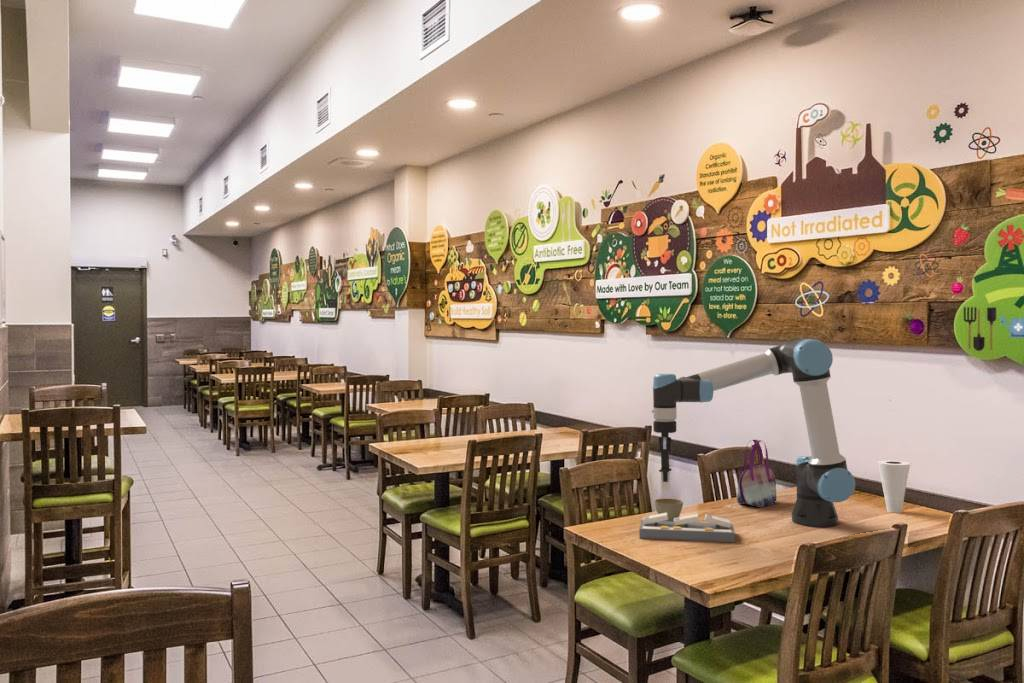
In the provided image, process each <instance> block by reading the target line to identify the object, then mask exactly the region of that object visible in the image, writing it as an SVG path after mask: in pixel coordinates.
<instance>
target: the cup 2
mask: <svg viewBox="0 0 1024 683" xmlns="http://www.w3.org/2000/svg"><path fill="white" fill-rule="evenodd" d="M877 465H878V470H879V476H880V481H881V486H882V491H883V495H884V502H885V506H886V511H887V512H888V513H894V514H901V513H903V512H902V511H903V505H904V500H905V495H906V489H907V483H908V479H909V473H910V467H911V466H910V465H911V463H910V462H908V461H903V460H895V459H894V460H888V459H887V460H878V461H877Z"/></svg>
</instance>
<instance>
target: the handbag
mask: <svg viewBox="0 0 1024 683" xmlns="http://www.w3.org/2000/svg"><path fill="white" fill-rule="evenodd" d="M751 441H753V443H754V444H753V445H752V449H751V452H750V458H749V464H750V465H749V466H747V458H748V457H747V456H748V444H749V443H750V442H751ZM761 442H763V444H764V447H765V459H766V460H765V462H766V464H765V465H764V464H763V461H764V460H763V450H762V447H761V445H760V444H761ZM747 443H748V444H747V445H746V448H745V451H744V452H745V453H744V458H743V459H744V461H743V472H742V473H741V474H740V476H739V479H738V484H737V492H736V493H737V494H736V496H737V497H736V502H737V503H738V504H739V505H750V506H753V507H756V508H763V507H767V506H772V505H775V504H776V503H777V481H776V476H775V473H774V471H773V470H772V468H770V463H769V454H768V452H769V451H768V448H767V445H766V443H765V442H764V441H763V440H761V439H759V440H758V439H751V440H749V441H748V442H747ZM756 452H758V457H759V459H758V460H759V464H754V458H755V455H756ZM775 501H776V502H775Z"/></svg>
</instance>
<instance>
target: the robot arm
mask: <svg viewBox="0 0 1024 683" xmlns="http://www.w3.org/2000/svg"><path fill="white" fill-rule="evenodd" d="M833 360H834V359H833V354H832V351H831V349H830V347H829V346H828V345H827V344H826V343H824V342H822V341H820V340H818V339H815V338H801V339H800V338H799V339H798V338H797V339H796V338H795V339H792V340H789V341H786V342H784V343H782V344H778V345H776V346H774V347H771V348H767V349H766V350H765V352H764V353H760V354H757V355H754V356H750V357H748V358H745V359H742V360H741V359H740V360H738V361H734V362H731V363H729V364H724V365H721V366H719V367H715V368H712V369H708V370H705V371H701V372H699V373H695V374H692V375H687V376H681V377H678V378H677V375H676V374H675V373H656V374H655V375H653V383H652V385H653V386H652V394H653V395H652V396H653V398H652V399H653V400H652V401H653V409H652V410H651V413H652V414H653V419H654V421H653V422H652V423H653V432H654V433H657V434H661V435H660V436H659V437H658V444H659V451H660V460H661V461H660V462H661V463H660V464H661V465H660V466H661V468H660V469H659V470H658V472H660V474H661V475H660V485H661V486H660V489H661V492H670V490H671V489H670V486H671V485H670V484H671V483H670V478H671V477H670V473H671V472H670V471H672V468H670V452H671V444H672V437H671V436H670V437H669V435H670V434H675V433H676V432H677V421H676V420H677V417H678V416H677V415H678V414H677V412H678V411H677V403H700V404H701V403H709V402H711V401H713V399H714V398H713V396H714V392H715V391H719V390H723V389H726V388H729V387H732V386H735V385H739V384H741V383H745V382H749V381H753V380H755V379H759V378H761V377H762V378H764V377H765V376H769V375H773V376H779V375H783V374H791V373H792V380H793V383H794V384H795V385H798V388H799V391H800V397H801V402H802V409H803V414H804V419H805V424H806V425H805V426H806V430H807V435H808V436H807V437H808V440H809V446H810V452H811V455H808V456H807V455H806V456H801V455H800V456H798V457H797V458H796V461H795V462H796V463H795V469H796V470H795V472H796V476H795V478H796V500H795V503H794V506H793V509H792V513H791V521H792V522H793V523H796V524H798V525H802V526H803V525H804V526H807V527H808V526H809V527H817V528H818V527H823V528H824V527H834V526H838V524H839V516H838V513H837V510H836V507H835V504H834V503H842V502H845V501H846V500H849V498H851V496H852V494H854V491H855V489H856V480H855V477H854V475H853V473H852V472H850V470H849V469H848V465H847V458H846V457H845V456H844V455H843V454H841V453H840V450H839V449H840V448H839V444H838V443H839V442H838V437H837V433H836V432H837V431H836V426H835V420H834V415H833V410H832V406H831V405H832V404H831V399H830V394H829V388H828V381H829V380H830V379H831V371H830V368H831V366H832V364H833Z"/></svg>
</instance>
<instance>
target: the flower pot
mask: <svg viewBox="0 0 1024 683" xmlns="http://www.w3.org/2000/svg"><path fill="white" fill-rule="evenodd" d="M653 502H654V506H655V510H656V512H657V513H656V514H662V513H667V515H668V520H665V521H673V522H674V518H677V517H680V515H681V513H682V510H683V505H684V501H683V500H681V499H677V498H664V497H663V498H657V499H655V500H653Z"/></svg>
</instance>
